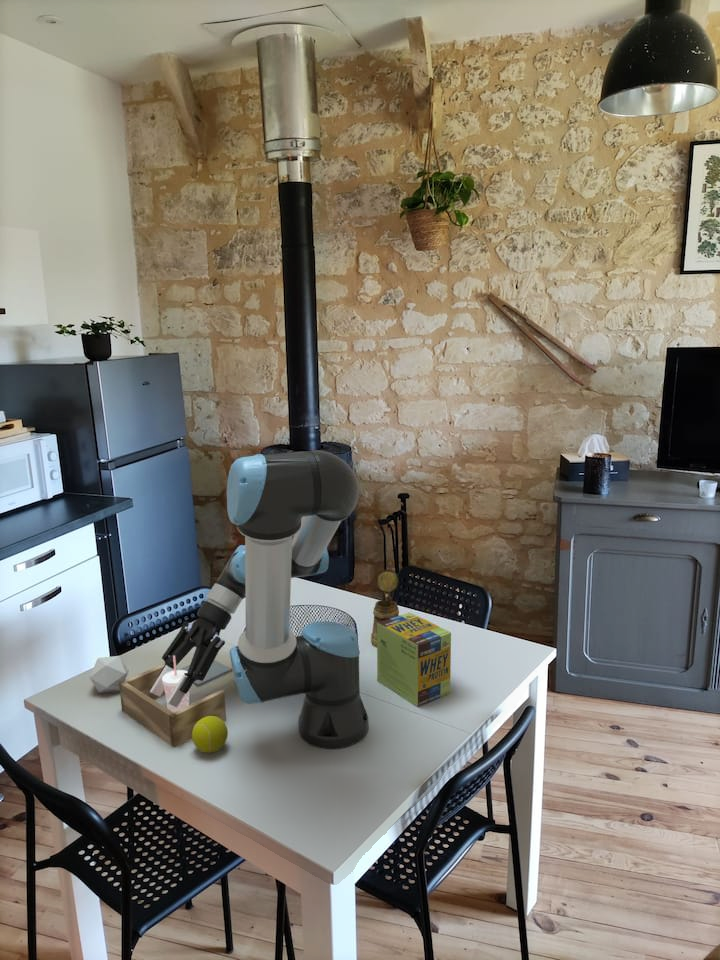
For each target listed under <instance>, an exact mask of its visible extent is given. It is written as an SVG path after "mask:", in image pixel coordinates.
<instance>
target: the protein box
mask: <svg viewBox="0 0 720 960" xmlns="http://www.w3.org/2000/svg"><path fill="white" fill-rule="evenodd" d="M451 647H452V632H451V631H449V630H447V629H445V628H443V627H441V626H439V625H436V624H435V623H433V622H431V621H429V620H426V619H424V618H422V617H421V616H418V615H416V614H414V613H412V612H407V613H404V614H401V615H399V616H397V617H394V618H391V619H387V620H384V621H381V622H378V623H377V647H376V650H377V651H376V654H377V655H376V656H377V660H376V663H377V665H376V666H377V667H376V668H377V673H376V674H377V675H376V676H377V679H376V680H377V682H379V683H380V684H382V685H384V686H385V687H387V688H388V689H390V690H392V692H394V693H396V694H397V695H398V696H400V697H402V698H403V699H405V700H406V701H408V702H410V703H411V704H412V705H414V706H416V707H417V708H418V707H420V706H422V705H423V706H424V704H427V703H430V702H432V701H434V700H436V699H439V698H441V697H444V696H446V695H448V694H451V670H452V669H451V668H452V667H451V664H452V661H451V659H452V657H451V656H452V655H451V654H452V652H451V649H452V648H451Z"/></svg>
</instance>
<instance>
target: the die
mask: <svg viewBox="0 0 720 960" xmlns="http://www.w3.org/2000/svg"><path fill="white" fill-rule="evenodd" d="M128 675H129V669H128V667H127V665H126V664H125V662H124V660H123V659H122V657H121V656H120V655H116V656H114V655H113V656H105V657H98V658H97V659H96V661H95V663H94V666H93V668H92V671H91V673H90V675H89V679H90V681H91V683H92V684H93V686H94V687H95V688H96V690H97V692H98V693H99V694H101V693H102V694H103V693H111V692H120V688H119V683H120V682H122V681H125V680H127V676H128Z"/></svg>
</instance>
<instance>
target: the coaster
mask: <svg viewBox="0 0 720 960" xmlns="http://www.w3.org/2000/svg"><path fill="white" fill-rule="evenodd" d="M189 667H190V664H188V665H186V666H184V667H181V668H179V669H178V670H185V671H188V670H189ZM232 671H233V668H230V667H229V666H227V665H226V664H223V663H221V662H220V661H218V660H216V659H214V661H213V663H212V665H211V667H210V669H209V670H208V672H207V674H206V676H205V678H204V680H203V681H200V680H196V681H194V683H193V684H194V685H195V686H197V687H201V686H203V685H205V684H207V683H209V682H211V681H213V680H216V679H218V678H220V677H222V676H224V675H227V674H228V673H231V672H232ZM200 674H201V673H200ZM193 684H192V685H193Z"/></svg>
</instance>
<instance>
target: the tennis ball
mask: <svg viewBox="0 0 720 960" xmlns="http://www.w3.org/2000/svg"><path fill="white" fill-rule="evenodd" d="M228 734H229V733H228V726H227V725H226V723H225V721H224V722H223V720H221V719H220V718H218V717H216V716H207V717H204V718H202V719H200V720H199V721H198V722H197V723H196V724H195V726H194V728H193V731H192V742H193V745H194V747H195V748H197V750H198V751H200V752H202V753H206V754H207V753H208V754H211V753H216V752H217V751H219V750H220V749H221V748H222V747H223V746H224V745H225V743H226V741H227V739H228Z"/></svg>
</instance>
